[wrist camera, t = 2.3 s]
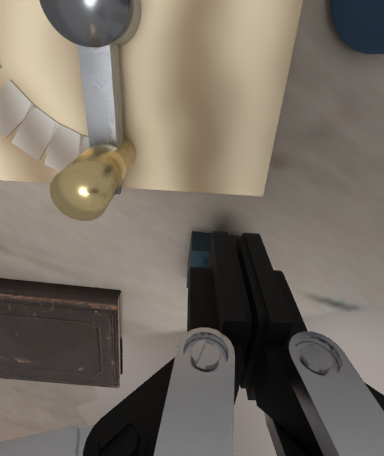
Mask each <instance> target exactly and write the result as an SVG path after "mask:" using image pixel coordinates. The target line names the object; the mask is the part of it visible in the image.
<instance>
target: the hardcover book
mask: <svg viewBox="0 0 384 456" xmlns="http://www.w3.org/2000/svg"><path fill="white" fill-rule="evenodd" d="M120 293H121V291H120V290H110V289H100V288H90V287H81V286H71V285H61V284H51V283H41V282H31V281H21V280H11V279H1V278H0V378H4V379H16V380H28V381H40V382H52V383H64V384H76V385H87V386H100V387H112V388H119V385H120V384H119V379H120V374H123V355H122V353H123V348H122V338H120V322H119V295H120Z"/></svg>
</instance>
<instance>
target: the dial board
mask: <svg viewBox="0 0 384 456" xmlns="http://www.w3.org/2000/svg"><path fill="white" fill-rule="evenodd" d="M140 2H141V18H140V23H139V26H138V29H137V31H136V33H135V35H134V36H133V37H132V39H131V40H130V41H129V42H128V43H126V44H125V45H123V46H121V47H118V51H119V68H120V84H121V101H122V117H123V133H124V136H125V137H127V138H128V139H129V140H130V141H131V143H132V144H133V146H134V148H135V153H136V157H135V161H134V163H133V165H132V167H131V168H130V170H129V171H128V173H127V175H126V176H125V178H124V180H123V181H122V183H121V188H136V189H152V190H168V191H184V192H200V193H215V194H231V195H247V196H263V194H264V190H265V185H266V180H267V175H268V170H269V165H270V160H271V155H272V151H273V146H274V141H275V136H276V131H277V126H278V121H279V117H280V112H281V107H282V102H283V97H284V92H285V87H286V82H287V78H288V73H289V68H290V63H291V58H292V53H293V48H294V43H295V39H296V34H297V29H298V24H299V19H300V14H301V9H302V5H303V0H140ZM89 147H90V144H89V136H88V128H87V120H86V112H85V104H84V96H83V87H82V79H81V71H80V63H79V55H78V47H77V44H75V43H72V42H70V41H69V40H67V39H66V38H64V37H63V36H62V35H60V34H59V33H58V32H57V31H56V30H55V28H54V27H53V26H52V25H51V23H50V22H49V20H48V19H47V17H46V15H45V14H44V12H43V9H42V7H41V5H40V1H39V0H0V180H9V181H25V182H41V183H51V182H52V180H53V178H54V177H55V176H56V175H57V174H58V173H59V172H60V171H61V170H63V169H64V168H65V167H66V166H67V165H69V164H70V163H71V162H72V161H73V160H75V159H76V158H77V157H78V156H79V155H81V154H82V153H83V152H84V151H86V150H87V149H88V148H89Z"/></svg>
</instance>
